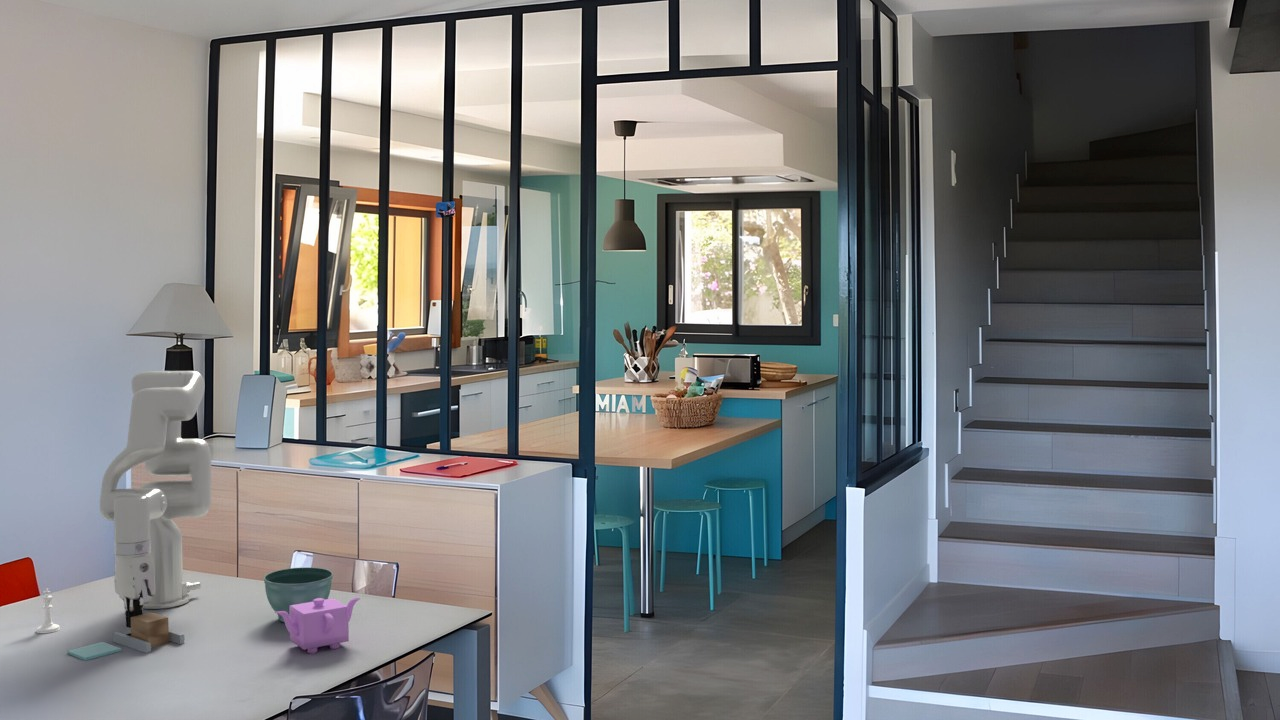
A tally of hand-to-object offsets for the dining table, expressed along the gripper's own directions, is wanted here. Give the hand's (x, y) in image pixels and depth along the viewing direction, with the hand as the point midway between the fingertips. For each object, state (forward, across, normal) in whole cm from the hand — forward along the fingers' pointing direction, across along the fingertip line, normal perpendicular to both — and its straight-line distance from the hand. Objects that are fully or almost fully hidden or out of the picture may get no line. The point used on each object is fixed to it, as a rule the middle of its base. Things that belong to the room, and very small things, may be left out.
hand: (134, 626), depth 251 cm
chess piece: (+3, +22, +9) cm, 24 cm away
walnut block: (+3, -6, 0) cm, 7 cm away
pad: (+3, -3, +11) cm, 12 cm away
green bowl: (+3, -18, -32) cm, 37 cm away
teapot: (+3, -40, -21) cm, 45 cm away
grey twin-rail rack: (+3, -6, 0) cm, 6 cm away
